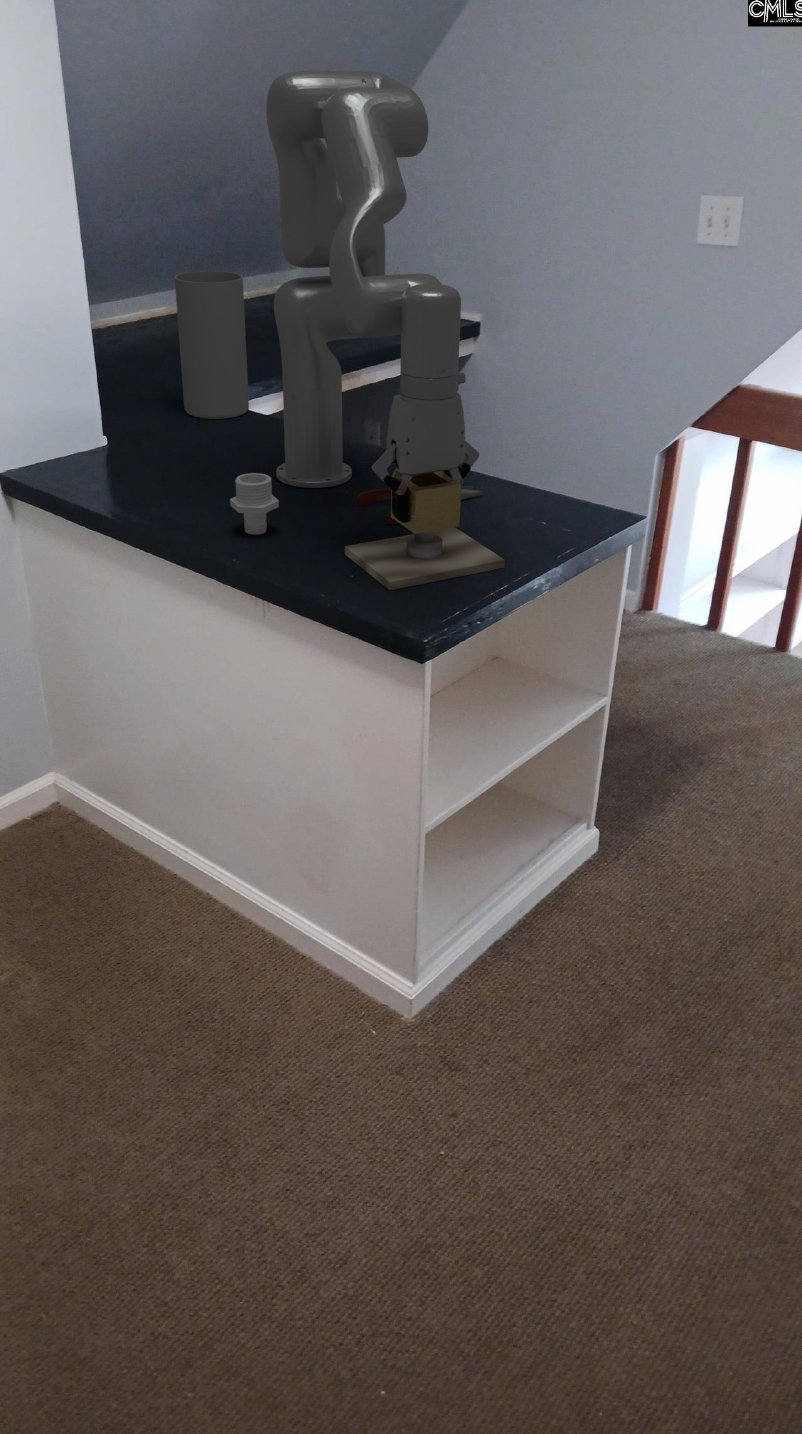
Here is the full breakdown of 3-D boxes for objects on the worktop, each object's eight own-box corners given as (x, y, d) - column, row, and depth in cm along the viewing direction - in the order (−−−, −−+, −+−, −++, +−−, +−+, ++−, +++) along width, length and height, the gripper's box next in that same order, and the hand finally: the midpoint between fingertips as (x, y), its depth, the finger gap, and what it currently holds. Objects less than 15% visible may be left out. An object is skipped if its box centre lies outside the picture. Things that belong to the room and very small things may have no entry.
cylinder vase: (256, 416, 226) (250, 281, 214) (193, 422, 222) (183, 284, 209) (239, 400, 236) (232, 269, 223) (178, 405, 232) (167, 273, 219)
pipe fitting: (266, 519, 178) (264, 468, 174) (284, 535, 172) (282, 483, 168) (227, 526, 175) (224, 474, 171) (244, 542, 170) (241, 489, 166)
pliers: (499, 507, 186) (500, 491, 185) (391, 529, 177) (391, 512, 175) (459, 486, 194) (459, 471, 193) (353, 506, 185) (353, 491, 184)
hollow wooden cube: (390, 517, 163) (391, 475, 160) (434, 509, 166) (436, 468, 163) (414, 533, 158) (415, 491, 155) (459, 525, 160) (461, 483, 157)
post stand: (344, 554, 166) (344, 492, 162) (454, 534, 174) (456, 474, 169) (389, 590, 156) (390, 525, 151) (504, 567, 163) (508, 504, 158)
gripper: (471, 372, 159) (465, 498, 168) (356, 385, 152) (356, 516, 161) (500, 385, 153) (492, 515, 162) (382, 400, 146) (381, 534, 155)
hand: (424, 514), depth 161 cm, fingers closed on hollow wooden cube, 6 cm apart
